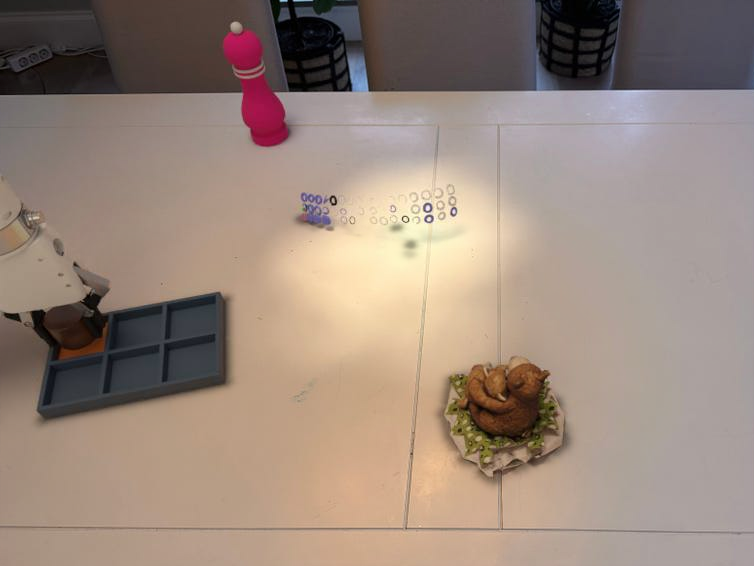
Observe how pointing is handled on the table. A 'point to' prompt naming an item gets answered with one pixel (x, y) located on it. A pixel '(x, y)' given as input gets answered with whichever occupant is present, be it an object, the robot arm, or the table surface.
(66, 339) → the brown cylinder
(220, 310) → the grid
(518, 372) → the bear figurine
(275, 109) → the pepper mill
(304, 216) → the ring set
